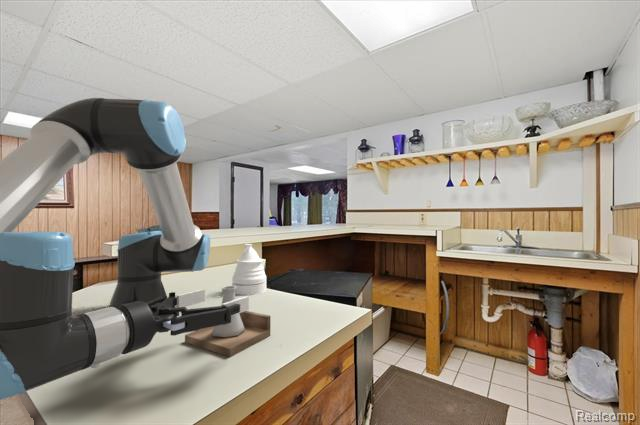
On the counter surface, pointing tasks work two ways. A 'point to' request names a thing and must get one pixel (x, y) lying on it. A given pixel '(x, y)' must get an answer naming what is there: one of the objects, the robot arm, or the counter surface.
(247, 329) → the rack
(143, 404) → the counter surface
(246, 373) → the counter surface
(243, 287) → the honey pot
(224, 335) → the flask
